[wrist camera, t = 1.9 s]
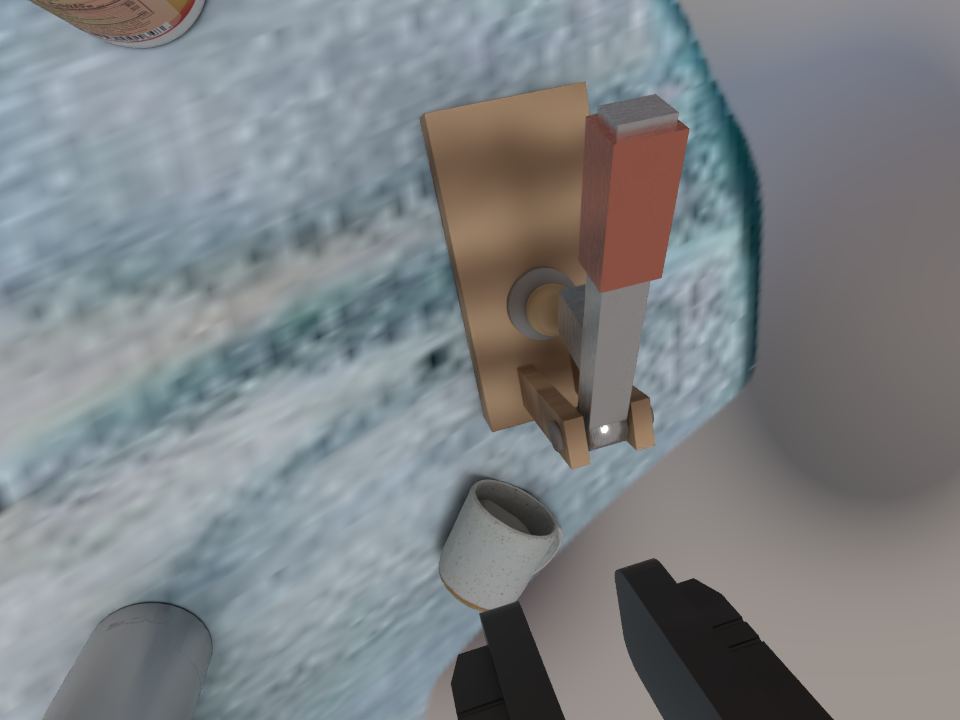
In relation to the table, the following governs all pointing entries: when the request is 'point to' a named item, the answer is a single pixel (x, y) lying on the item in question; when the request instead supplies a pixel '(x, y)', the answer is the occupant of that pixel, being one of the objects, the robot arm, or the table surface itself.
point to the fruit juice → (128, 19)
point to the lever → (619, 252)
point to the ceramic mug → (497, 545)
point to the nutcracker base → (520, 254)
